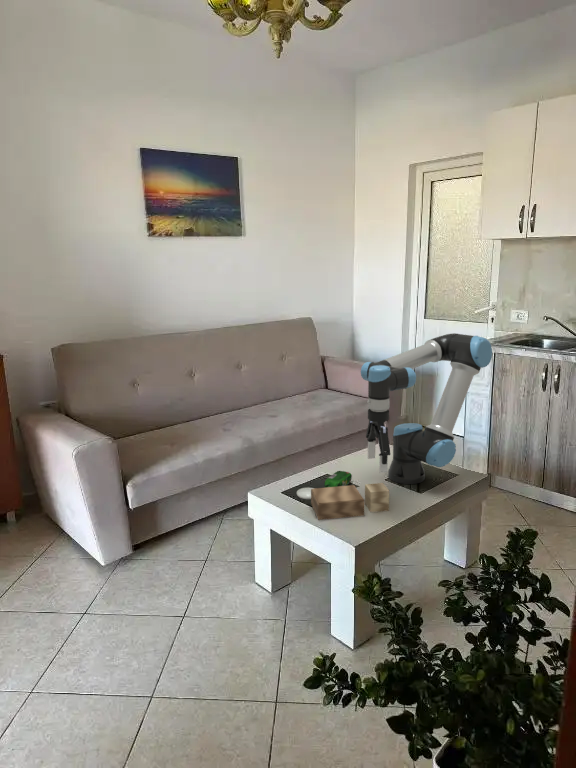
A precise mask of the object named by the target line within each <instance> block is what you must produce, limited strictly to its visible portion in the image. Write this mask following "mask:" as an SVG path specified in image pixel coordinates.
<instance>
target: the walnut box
mask: <svg viewBox="0 0 576 768" xmlns="http://www.w3.org/2000/svg"><path fill="white" fill-rule="evenodd" d="M310 504H311V506H312V509H313V511H314V514H315V513H316V514H315V516H316V519H317V520H318V521H320V520H321V521H323V520H330V519H342V518H351V517H361V516H362V517H363V516H365V498H364V497H363V495H362V494H361V493H360V491H359V490H358V489H357V487H356V486H355V485H354V484H352V485H347V486H338V487H327V488H326V487H317V488H315V489H311V499H310Z"/></svg>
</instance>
